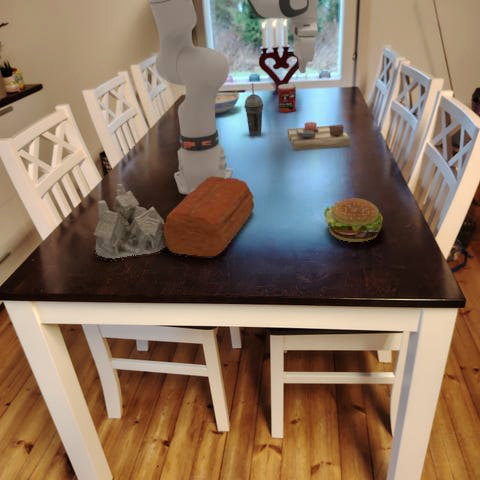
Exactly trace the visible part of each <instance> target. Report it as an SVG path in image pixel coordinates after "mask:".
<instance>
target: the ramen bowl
mask: <svg viewBox="0 0 480 480" xmlns="http://www.w3.org/2000/svg"><path fill="white" fill-rule="evenodd" d="M245 92H246V89H239V90H238V89H237V90H235V89H233V90H223V89H222V90H221V89H219V90H218V93H217V96H216V101H215V115H221V114H224V113H225V112H227V111H229V110H230V109H232V108H233V107H234V106H235V105H236V104H237V103H238V100H239V98H240V95H241V93H245Z"/></svg>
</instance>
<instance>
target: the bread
mask: <svg viewBox="0 0 480 480" xmlns="http://www.w3.org/2000/svg"><path fill="white" fill-rule="evenodd" d="M253 199H254V195H253V192H252V191H251V189H250V187H249V186H248V184H247V182H246V181H243V180H241V179H239V178H235V177H230V178H226V179H224V178H223V177H213V176H212V177H209V178H207V179H206V180H205V181H204V182H202V183H201V184H199V185H198V187H197V188H196V189H195V190H194V191H192V192H191V193H190V194H187V195H186V196H185V197H184V198H183V199H182V201H180V203H179V204H177V206H175V207H174V208H173V209H172V211H170V212H169V214H168V215H167V216H166V219H165V220H166V221H165V222H164V224H165V225H164V235H165V244H166V246H167V249H168V251H169V252H170V251H172V252H173V253H178V254H187V255H188V254H189V255H197V256H206V257H207V256H216V255H218V254H220V253H221V252H222V251H223V250H224V249H225V248H226V247H227V248H228V246H229V245H230V244H231V242H232V241H233V240H234V238H235V237H236V236H237V234H238V233H239V231H240V230H241V229H242V227H243V226H244V225H243V224H245V223H246V222H247V221H248V219H249V218H250V216H251V215H252V212H253V210H254V208H255V202H254V200H253ZM250 214H251V215H250ZM248 217H249V218H248ZM246 220H247V221H246ZM237 232H238V233H237ZM234 236H235V237H234ZM232 239H233V240H232ZM231 240H232V241H231ZM229 243H230V244H229ZM228 244H229V245H228ZM227 245H228V246H227ZM227 248H226V249H227ZM226 249H225V250H226ZM225 250H224V251H225ZM172 252H171V253H172ZM173 253H172V254H173ZM221 254H222V253H221ZM221 254H220V255H221ZM218 256H219V255H218Z"/></svg>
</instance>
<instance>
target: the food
mask: <svg viewBox="0 0 480 480" xmlns="http://www.w3.org/2000/svg"><path fill="white" fill-rule="evenodd" d="M323 214H324V217H325V223H326V224H327V226H328V227H329V229H328V230H329V233H330V234H331V236H332V237H333V236H334V237H333V238H335V237H336V238H335V239H337V238H338V239H337V240H339V239H340V240H339V241H341V240H343V241H342V242H345V241H348V242H347V243H350V242H362V243H364V242H363V241H367V242H369V241H368V240H370V241H371V239H372V240H373V238H374V239H375V238H376V237H377V236H378V235H379V233H380V232H381V231H382V226H383V225H382V223H383V216H382V213H381V212H380V210H379V209H378V207H377V206H376V205H375V204H374V203H372V202H371V201H370V200H369V201H368V200H366V199H363V198H357V197H354V198H352V197H351V198H346V199H342V200H340V201H338V202H336V203H334V204H333V205H332V206H331V207H330V208H329V206H327V208H325V209H324V213H323Z"/></svg>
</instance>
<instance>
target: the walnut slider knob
mask: <svg viewBox="0 0 480 480" xmlns="http://www.w3.org/2000/svg"><path fill="white" fill-rule="evenodd" d="M329 126H330V135H331V136H332V135H343V130H344V128H345V127H344V125H343V124H335V125H334V124H332V125H329Z"/></svg>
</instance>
